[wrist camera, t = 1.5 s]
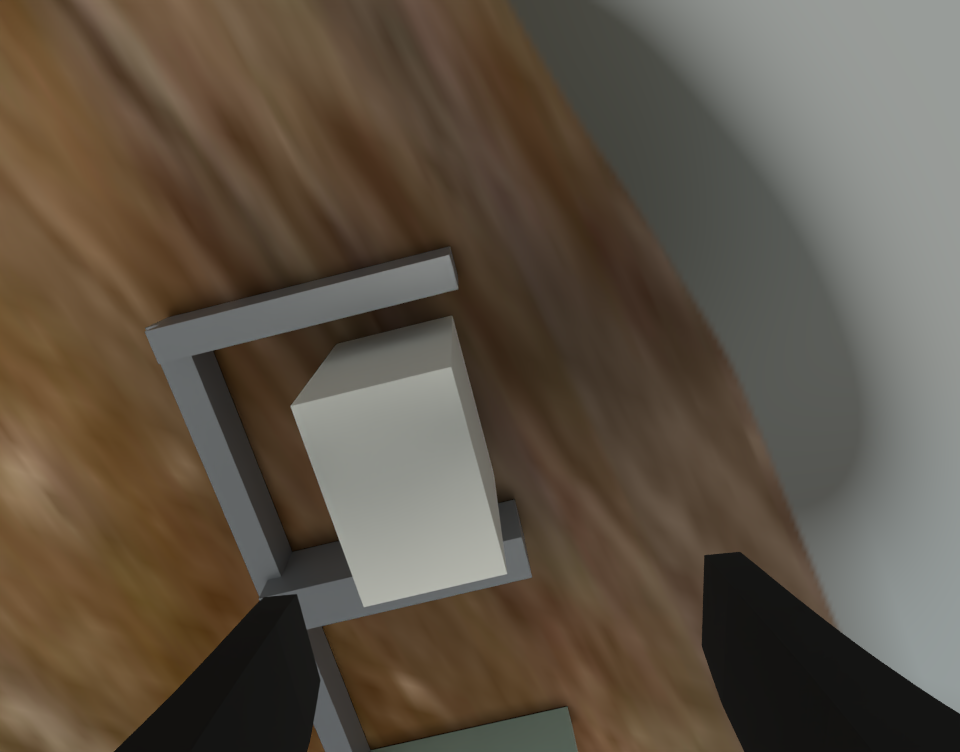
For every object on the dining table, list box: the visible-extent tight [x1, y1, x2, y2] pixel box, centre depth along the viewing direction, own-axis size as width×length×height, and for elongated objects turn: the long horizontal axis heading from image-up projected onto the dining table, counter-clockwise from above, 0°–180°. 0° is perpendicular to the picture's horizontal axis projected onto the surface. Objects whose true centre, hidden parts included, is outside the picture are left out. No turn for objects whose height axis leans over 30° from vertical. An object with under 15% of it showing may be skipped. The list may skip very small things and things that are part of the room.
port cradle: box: [145, 246, 578, 752], centre depth 21 cm, size 10×20×2 cm, turn 14°
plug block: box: [290, 315, 507, 607], centre depth 18 cm, size 4×6×6 cm, turn 14°
